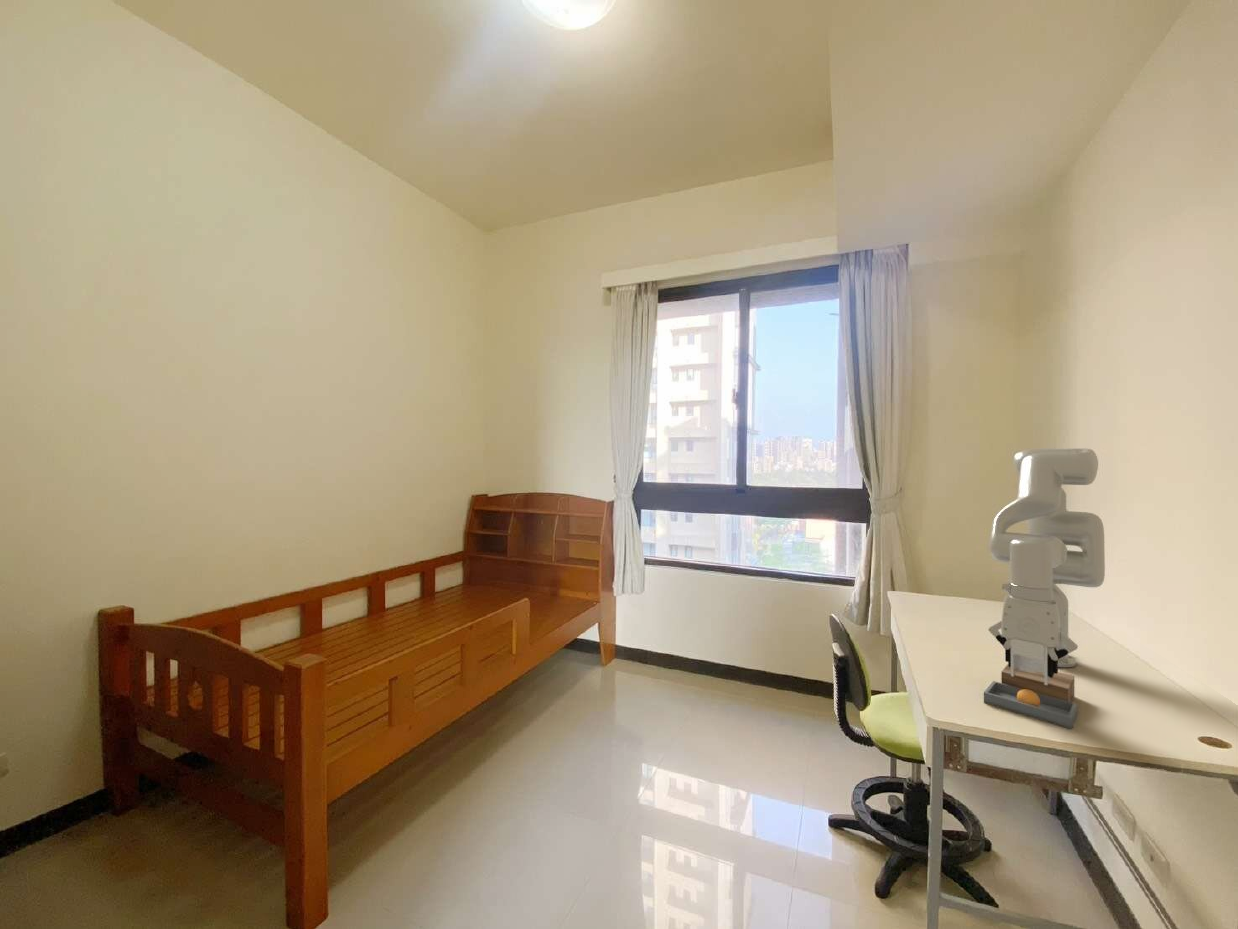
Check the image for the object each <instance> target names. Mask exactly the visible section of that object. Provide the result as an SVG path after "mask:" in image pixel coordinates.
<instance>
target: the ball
mask: <svg viewBox="0 0 1238 929" xmlns="http://www.w3.org/2000/svg"><path fill="white" fill-rule="evenodd" d="M1017 699H1018V701H1019V702H1022V703H1026V704H1029V705H1033V706H1036V707H1038V706H1039V705H1040V699H1039V697H1038V695H1037V694H1036V693H1035V692H1033V691H1031V690H1028V689H1023V690H1020V691H1019V692H1018V693H1017Z"/></svg>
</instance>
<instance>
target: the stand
mask: <svg viewBox="0 0 1238 929" xmlns="http://www.w3.org/2000/svg"><path fill="white" fill-rule="evenodd" d="M1000 676H1001V678H1000V679H1001V681H1000V683H1003V684H1007V685H1010V686H1014V687H1018V688H1021V689H1028V690H1031V691H1033V692H1036V693H1040V694H1043V695H1047V696H1051V697H1054V698H1058V699H1061V700H1065V701H1069V702H1072V703H1074V698H1075V675H1072V674H1067V673H1063V672H1059V671H1058V673H1057V674H1055V673H1054V675H1053V677H1052V678H1051V680H1050V682H1049V683H1048V685H1044V676H1042V675H1038V674H1034V673H1030V672H1026V671H1022V670H1018V671H1017V673H1016V674H1015V675H1014V677H1013V676H1011V667H1008V663H1007V665H1005V667H1004V668H1003V669H1002V670H1001V675H1000Z"/></svg>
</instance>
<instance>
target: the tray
mask: <svg viewBox="0 0 1238 929" xmlns="http://www.w3.org/2000/svg"><path fill="white" fill-rule="evenodd" d="M1020 690H1023V689H1021V688H1018V687H1014V686H1010V685H1007V684H1003V683H1001V682H999V681H995V680H993V681H992V682H991V683H990V684H989V685H988V687H987V688H986V689H985V691H984V692H983V703H984V704H987V705H990V706H994V707H997V708H1000V709H1003V710H1006V711H1011V712H1013V713H1016V714H1020V715H1023V716H1026V717H1030V718H1034V719H1035V720H1038V721H1039V720H1040V721H1043V722H1047V723H1050V724H1053V725H1056V726H1060V727H1062V728H1065V729H1069V730H1072V728H1073V727H1074V724H1075V723H1076V722H1075V721H1076V718H1077V716H1078V703H1076V702H1069V701H1065V700H1061V699H1058V698H1054V697H1051V696H1047V695H1043V694H1040V693H1036V692H1035V693H1036V694H1037V695H1038V697H1039V699H1040V705H1039V706H1038V707H1036V706H1033V705H1029V704H1026V703H1022V702H1019V701H1018V699H1017V693H1018V692H1019V691H1020Z"/></svg>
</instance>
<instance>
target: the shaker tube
mask: <svg viewBox="0 0 1238 929" xmlns="http://www.w3.org/2000/svg"><path fill="white" fill-rule="evenodd" d="M1049 658H1050V655H1049V653H1048V648H1047V647H1044V645H1043V644H1039V643H1034V642H1029V641H1025V640H1020V639H1015V638H1013V640H1011V676H1013V677H1014V675H1015V674H1016V673H1017V671H1018V670H1022V671H1026V672H1030V673H1034V674H1038V675H1042V676H1044V685H1048V683H1049V682H1050V680H1051V677H1049V676H1048V659H1049Z"/></svg>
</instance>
